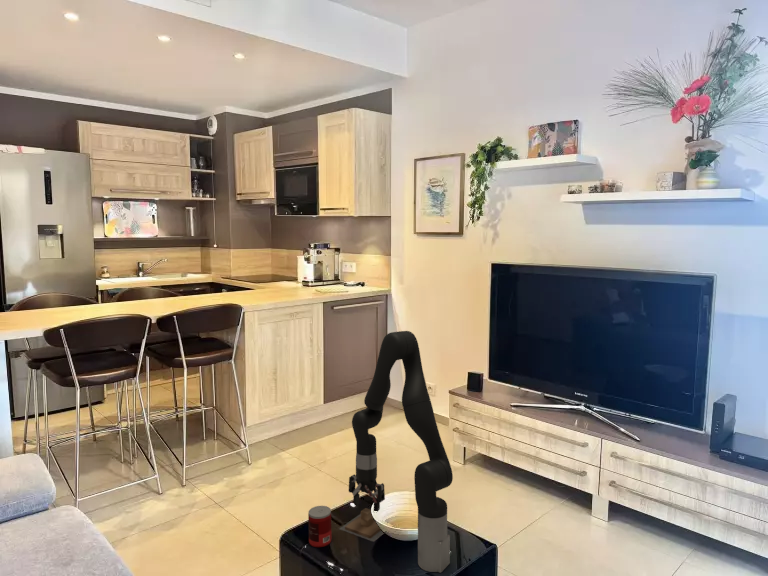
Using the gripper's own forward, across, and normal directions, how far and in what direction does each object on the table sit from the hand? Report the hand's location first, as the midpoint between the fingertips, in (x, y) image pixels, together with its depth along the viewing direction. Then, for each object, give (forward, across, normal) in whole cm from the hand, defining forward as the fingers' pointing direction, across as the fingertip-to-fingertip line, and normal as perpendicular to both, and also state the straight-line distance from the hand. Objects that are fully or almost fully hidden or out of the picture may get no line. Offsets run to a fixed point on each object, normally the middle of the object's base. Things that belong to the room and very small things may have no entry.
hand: (366, 508), depth 191 cm
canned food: (+8, +8, +16) cm, 20 cm away
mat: (+7, 0, 0) cm, 7 cm away
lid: (+7, 0, 0) cm, 7 cm away
